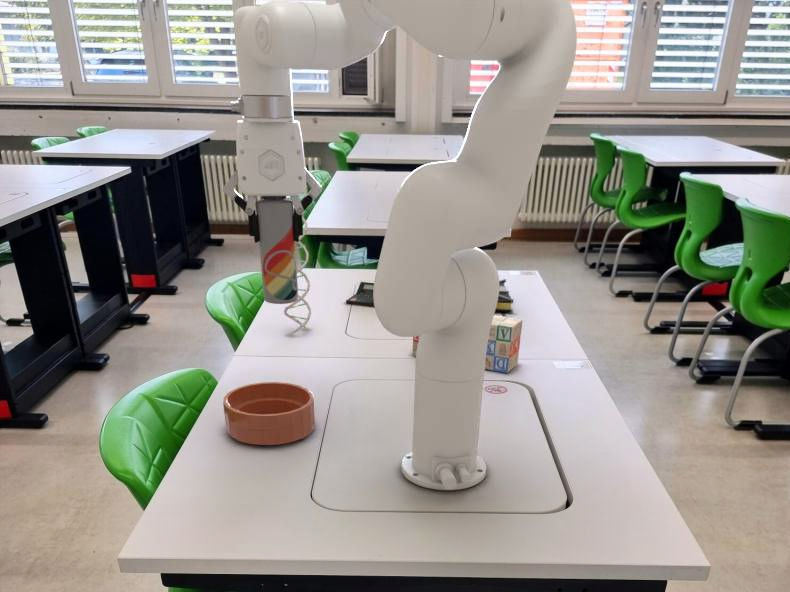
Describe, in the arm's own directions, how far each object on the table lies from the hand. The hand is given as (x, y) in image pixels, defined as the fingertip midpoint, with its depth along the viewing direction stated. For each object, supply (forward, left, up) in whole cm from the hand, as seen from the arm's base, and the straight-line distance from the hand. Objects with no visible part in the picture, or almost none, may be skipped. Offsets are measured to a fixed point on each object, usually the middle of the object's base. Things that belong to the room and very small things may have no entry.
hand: (276, 239), depth 116 cm
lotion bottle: (0, 0, -10) cm, 10 cm away
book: (+61, -51, -27) cm, 84 cm away
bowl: (-13, +3, -27) cm, 30 cm away
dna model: (+39, -4, -27) cm, 48 cm away
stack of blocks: (+17, -37, -27) cm, 49 cm away
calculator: (+65, -24, -27) cm, 74 cm away
